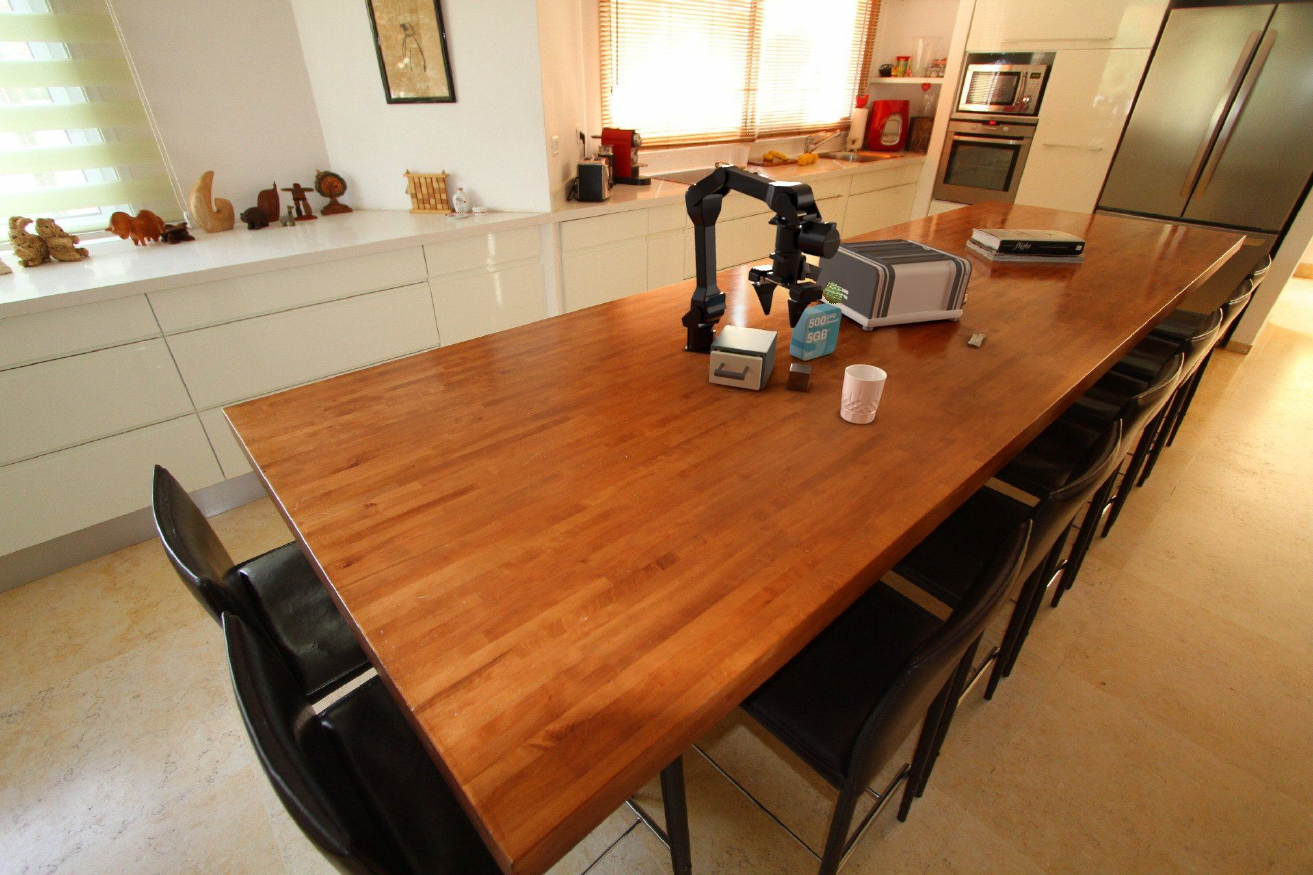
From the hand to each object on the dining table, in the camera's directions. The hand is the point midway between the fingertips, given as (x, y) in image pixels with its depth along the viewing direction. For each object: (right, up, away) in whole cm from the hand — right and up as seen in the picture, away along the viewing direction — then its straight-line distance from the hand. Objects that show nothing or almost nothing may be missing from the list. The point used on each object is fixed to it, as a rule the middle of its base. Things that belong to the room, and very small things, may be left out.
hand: (779, 321), depth 131 cm
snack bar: (+58, 0, +27) cm, 64 cm away
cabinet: (-7, -11, +9) cm, 16 cm away
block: (+5, -14, +3) cm, 15 cm away
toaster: (+43, +13, +50) cm, 67 cm away
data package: (+12, -5, +19) cm, 23 cm away
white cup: (+14, -22, -9) cm, 27 cm away
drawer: (-9, -13, +4) cm, 16 cm away
